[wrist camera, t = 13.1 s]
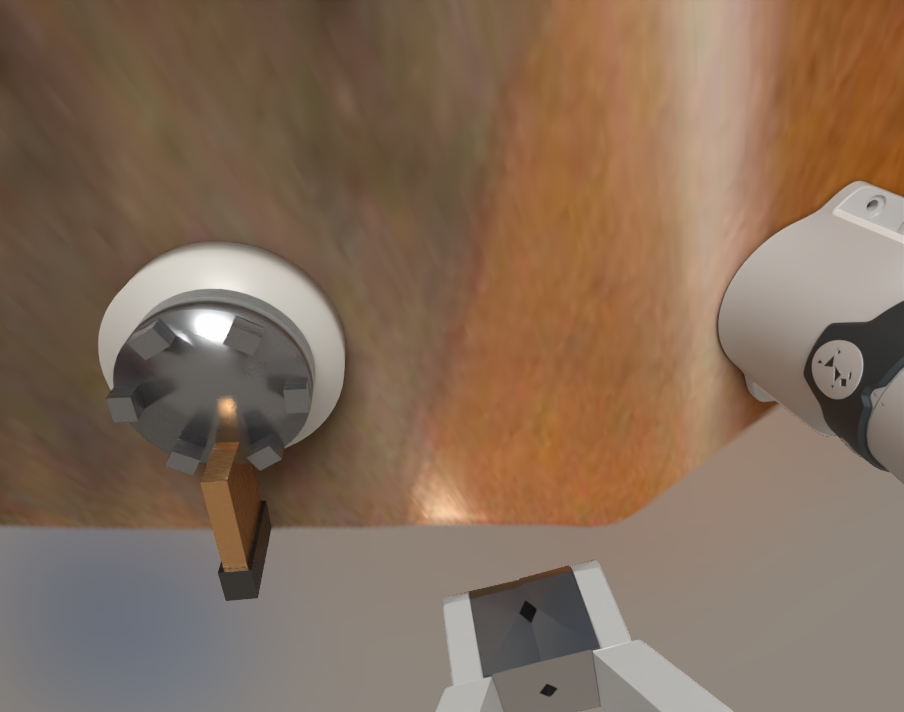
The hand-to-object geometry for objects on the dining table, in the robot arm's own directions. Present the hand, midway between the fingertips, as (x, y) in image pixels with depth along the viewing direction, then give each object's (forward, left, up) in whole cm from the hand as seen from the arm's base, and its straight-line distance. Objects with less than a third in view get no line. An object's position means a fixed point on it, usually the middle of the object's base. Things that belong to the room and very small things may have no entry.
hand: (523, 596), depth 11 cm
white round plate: (+12, +13, -31) cm, 36 cm away
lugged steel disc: (+12, +17, -28) cm, 35 cm away
